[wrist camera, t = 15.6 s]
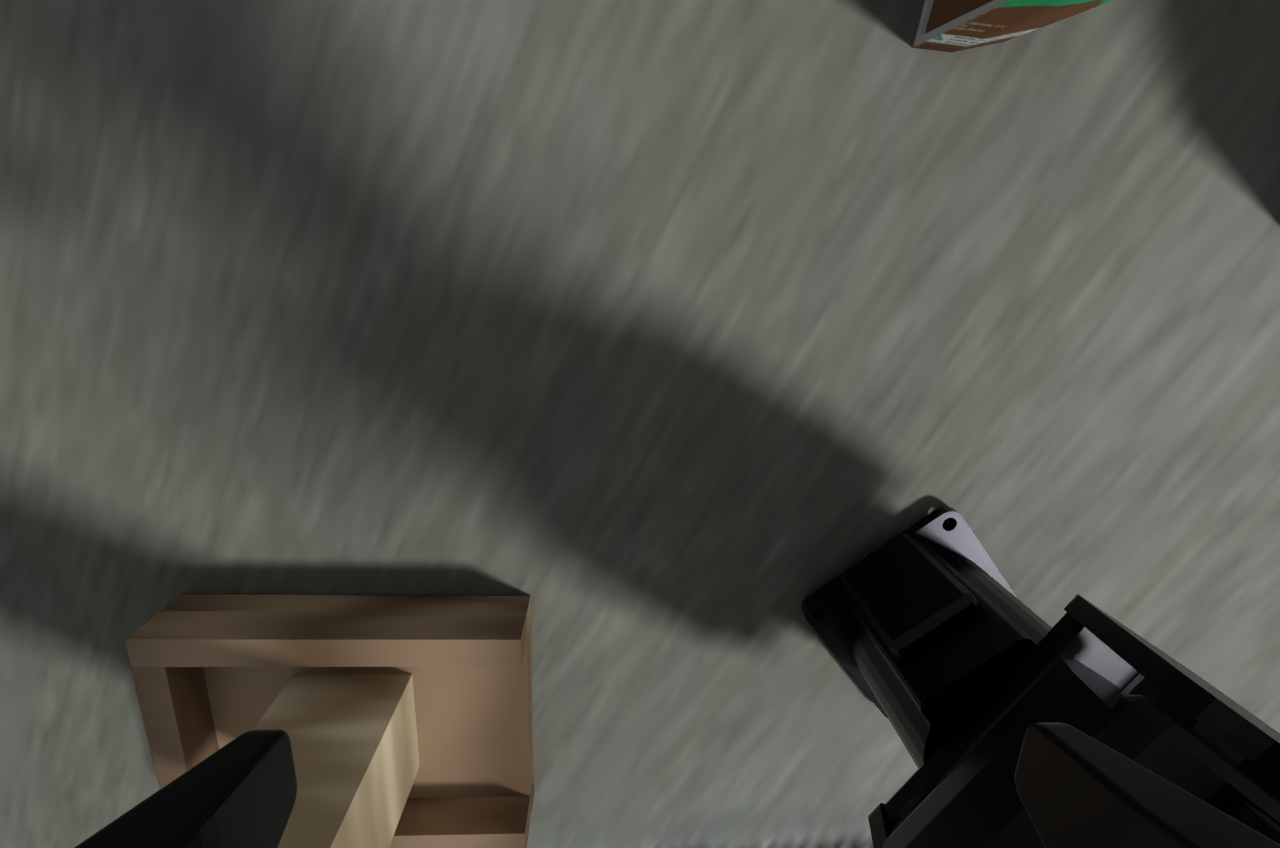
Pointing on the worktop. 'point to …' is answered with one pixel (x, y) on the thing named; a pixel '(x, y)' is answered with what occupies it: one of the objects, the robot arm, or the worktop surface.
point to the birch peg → (347, 756)
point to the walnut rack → (358, 644)
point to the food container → (988, 20)
